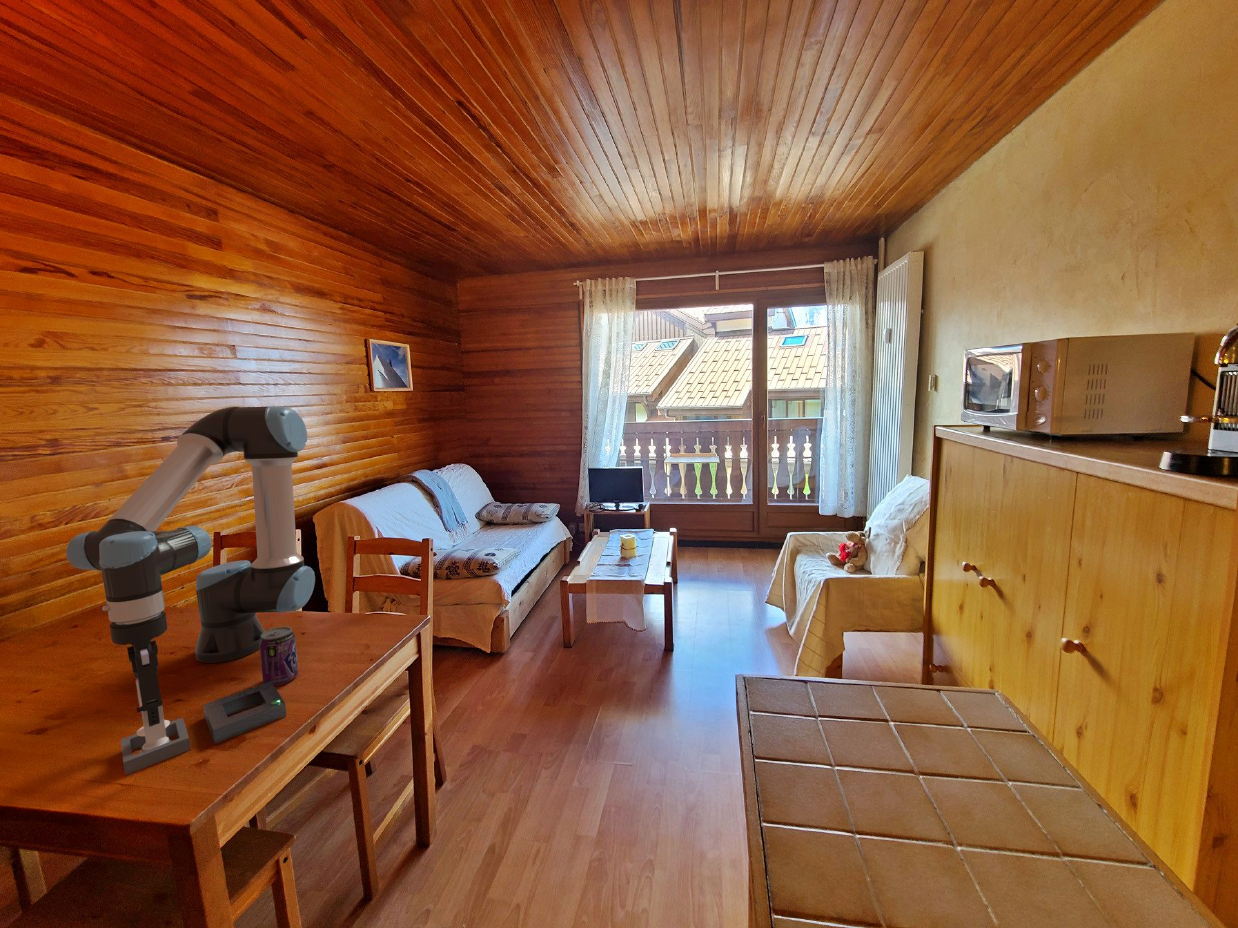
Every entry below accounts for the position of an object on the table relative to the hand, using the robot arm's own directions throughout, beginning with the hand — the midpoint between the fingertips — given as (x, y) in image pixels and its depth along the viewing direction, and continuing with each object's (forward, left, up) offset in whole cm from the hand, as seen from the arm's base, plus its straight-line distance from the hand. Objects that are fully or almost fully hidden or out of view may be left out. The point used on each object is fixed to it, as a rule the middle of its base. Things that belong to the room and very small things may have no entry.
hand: (152, 722), depth 96 cm
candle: (0, 0, -6) cm, 6 cm away
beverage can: (-11, +23, -6) cm, 26 cm away
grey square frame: (0, 0, -6) cm, 6 cm away
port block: (0, +14, -6) cm, 15 cm away
